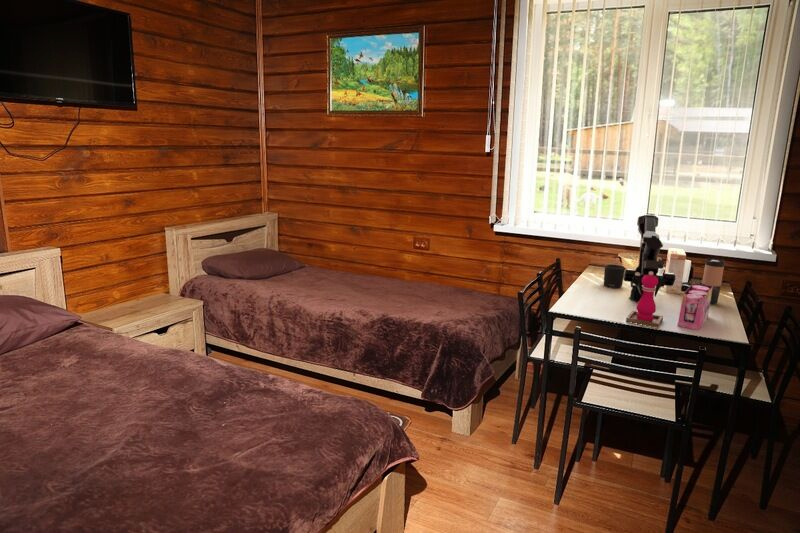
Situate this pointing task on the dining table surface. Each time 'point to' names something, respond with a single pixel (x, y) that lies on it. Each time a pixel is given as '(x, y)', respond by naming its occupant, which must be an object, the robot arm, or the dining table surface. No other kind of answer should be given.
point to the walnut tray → (633, 318)
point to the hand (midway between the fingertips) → (648, 295)
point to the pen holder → (613, 276)
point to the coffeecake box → (675, 268)
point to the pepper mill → (647, 298)
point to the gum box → (695, 306)
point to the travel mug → (713, 276)
